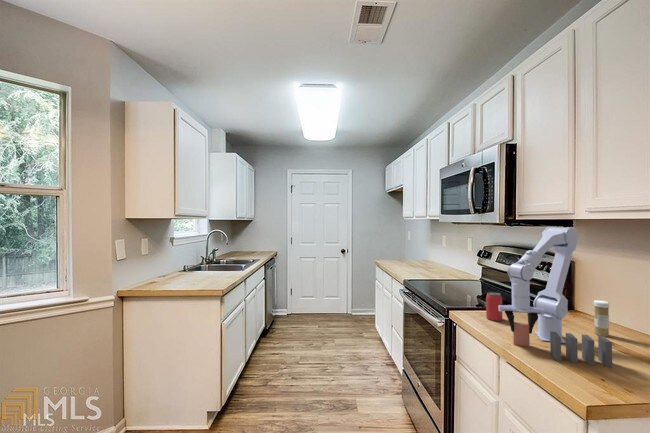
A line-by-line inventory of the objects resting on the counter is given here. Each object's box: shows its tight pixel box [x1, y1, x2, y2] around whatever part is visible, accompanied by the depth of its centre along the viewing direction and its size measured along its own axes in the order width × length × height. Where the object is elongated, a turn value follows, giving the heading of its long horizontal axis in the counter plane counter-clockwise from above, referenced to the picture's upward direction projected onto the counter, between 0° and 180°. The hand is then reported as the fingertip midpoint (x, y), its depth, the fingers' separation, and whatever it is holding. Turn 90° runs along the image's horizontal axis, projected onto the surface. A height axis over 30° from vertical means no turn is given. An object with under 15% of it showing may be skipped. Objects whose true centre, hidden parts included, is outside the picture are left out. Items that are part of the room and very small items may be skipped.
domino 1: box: [549, 331, 562, 362], centre depth 106 cm, size 2×5×8 cm, turn 159°
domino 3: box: [581, 334, 596, 366], centre depth 103 cm, size 2×5×8 cm, turn 160°
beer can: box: [485, 291, 503, 322], centre depth 144 cm, size 7×7×12 cm
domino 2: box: [565, 332, 579, 364], centre depth 104 cm, size 2×5×8 cm, turn 159°
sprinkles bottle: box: [593, 299, 610, 338], centre depth 124 cm, size 5×5×13 cm
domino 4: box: [597, 335, 613, 368], centre depth 101 cm, size 2×5×8 cm, turn 160°
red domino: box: [512, 321, 531, 348], centre depth 116 cm, size 2×5×8 cm, turn 70°
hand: (521, 331), depth 116 cm, fingers closed on red domino, 5 cm apart
